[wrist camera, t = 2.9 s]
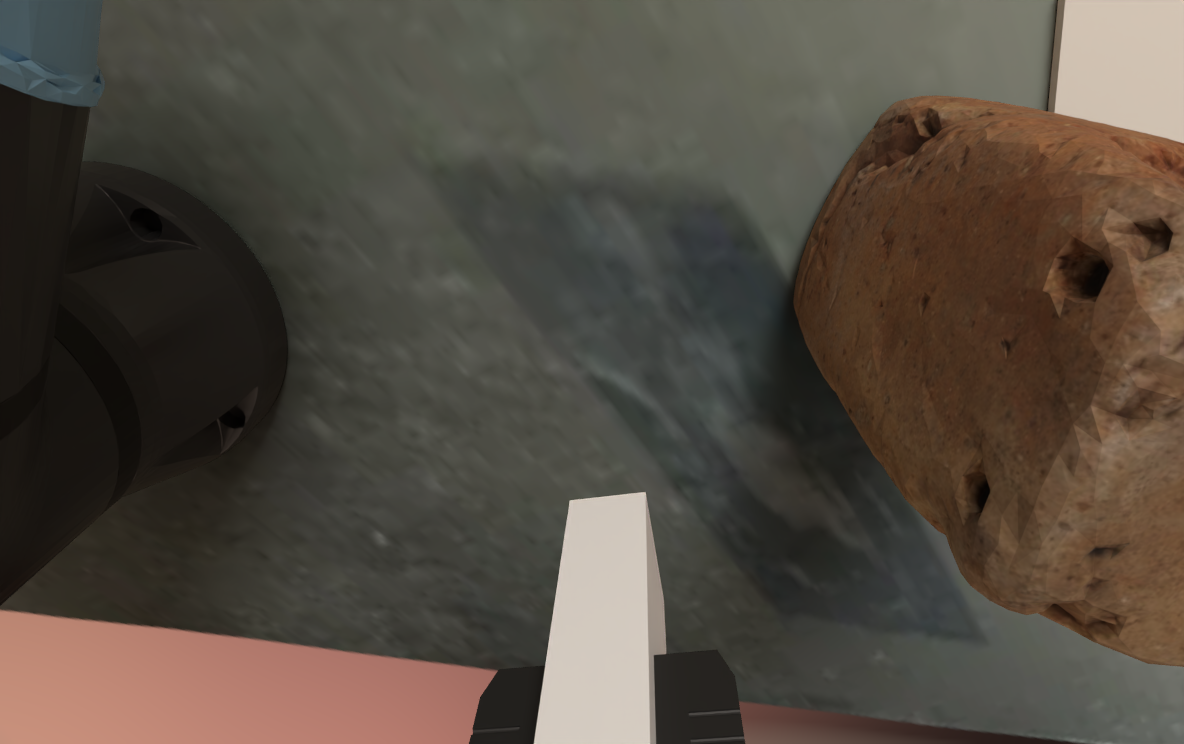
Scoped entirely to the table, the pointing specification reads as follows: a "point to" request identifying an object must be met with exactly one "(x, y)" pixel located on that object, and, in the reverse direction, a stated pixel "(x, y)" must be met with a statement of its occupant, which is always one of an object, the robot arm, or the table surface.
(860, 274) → the raisin bread loaf
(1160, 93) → the mat
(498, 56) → the table surface
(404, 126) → the table surface
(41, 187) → the robot arm
